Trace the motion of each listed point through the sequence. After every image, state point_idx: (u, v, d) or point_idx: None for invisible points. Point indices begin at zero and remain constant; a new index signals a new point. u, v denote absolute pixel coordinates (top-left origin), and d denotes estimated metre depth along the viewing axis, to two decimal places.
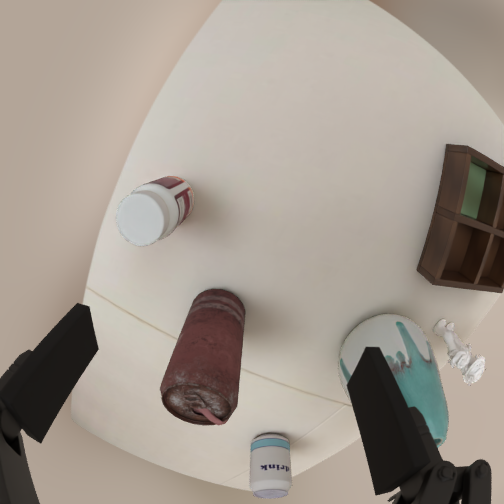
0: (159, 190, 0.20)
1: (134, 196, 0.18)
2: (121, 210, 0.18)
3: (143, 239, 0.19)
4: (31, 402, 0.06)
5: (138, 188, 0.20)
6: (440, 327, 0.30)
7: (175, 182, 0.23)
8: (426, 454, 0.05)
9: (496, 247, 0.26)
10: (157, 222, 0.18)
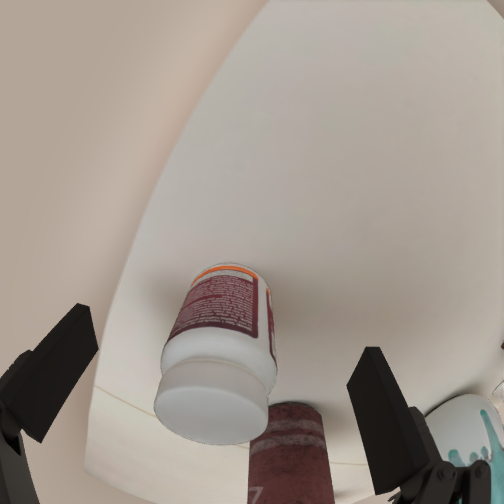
0: (243, 350, 0.09)
1: (198, 392, 0.07)
2: (166, 404, 0.08)
3: (220, 440, 0.08)
4: (31, 401, 0.06)
5: (190, 340, 0.09)
6: (501, 391, 0.20)
7: (251, 294, 0.12)
8: (426, 454, 0.05)
9: None
10: (252, 426, 0.08)
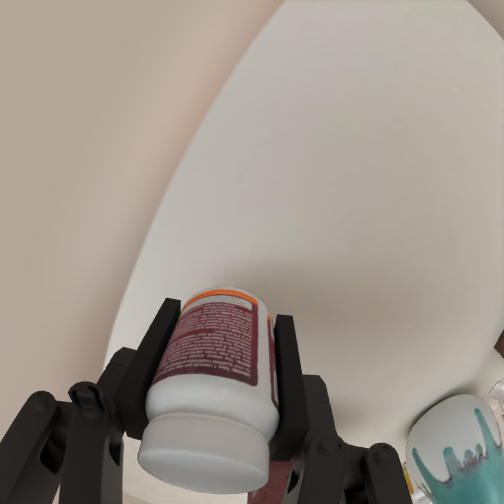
0: (240, 402, 0.07)
1: (185, 455, 0.05)
2: (150, 461, 0.06)
3: (214, 491, 0.06)
4: (145, 398, 0.08)
5: (176, 389, 0.07)
6: (497, 391, 0.21)
7: (250, 327, 0.10)
8: (306, 419, 0.07)
9: None
10: (251, 483, 0.06)
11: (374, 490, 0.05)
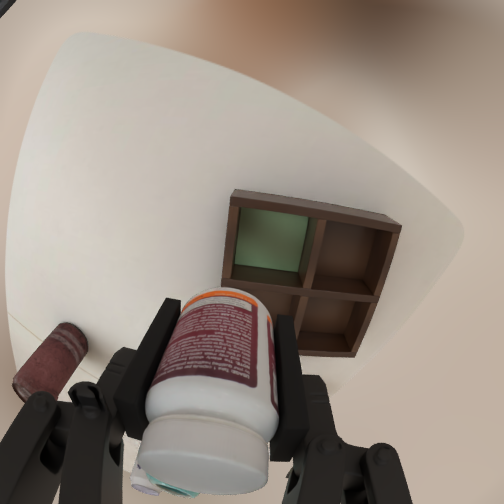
0: (239, 403, 0.07)
1: (184, 457, 0.05)
2: (150, 462, 0.06)
3: (214, 491, 0.06)
4: (145, 398, 0.08)
5: (176, 391, 0.07)
6: None
7: (249, 328, 0.10)
8: (306, 419, 0.07)
9: (351, 300, 0.29)
10: (250, 484, 0.06)
11: (374, 490, 0.05)
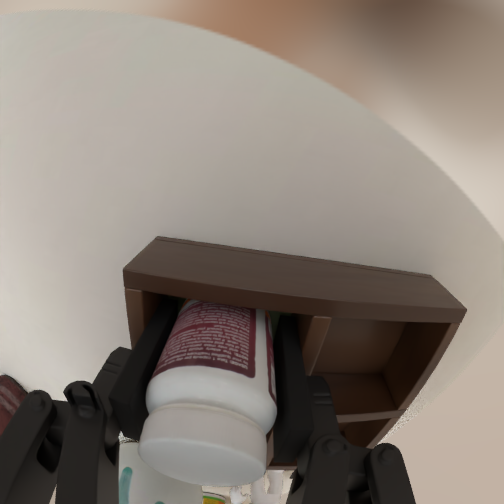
0: (237, 393, 0.07)
1: (184, 444, 0.06)
2: (150, 451, 0.06)
3: (213, 483, 0.07)
4: (140, 398, 0.08)
5: (176, 381, 0.07)
6: None
7: (248, 321, 0.11)
8: (311, 420, 0.07)
9: None
10: (249, 474, 0.06)
11: (378, 490, 0.05)
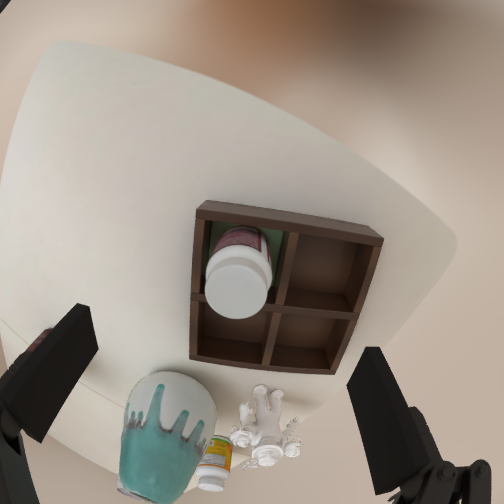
0: (254, 255, 0.18)
1: (232, 268, 0.17)
2: (213, 282, 0.17)
3: (240, 313, 0.18)
4: (31, 402, 0.06)
5: (226, 251, 0.18)
6: (256, 394, 0.32)
7: (257, 237, 0.22)
8: (426, 454, 0.05)
9: None
10: (259, 296, 0.17)
11: (470, 497, 0.03)
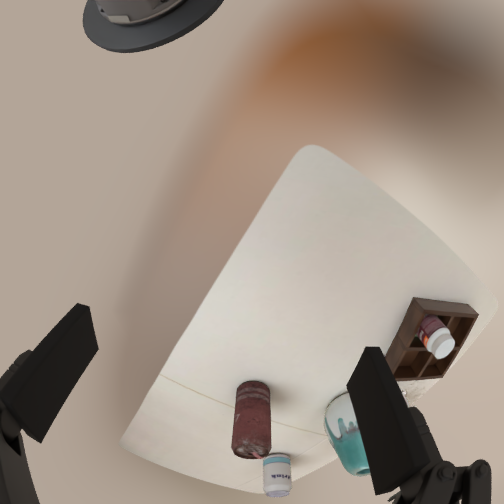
0: (448, 331, 0.33)
1: (448, 340, 0.31)
2: (441, 346, 0.31)
3: (442, 356, 0.32)
4: (31, 401, 0.06)
5: (440, 331, 0.33)
6: None
7: (439, 319, 0.36)
8: (426, 454, 0.05)
9: None
10: (451, 348, 0.32)
11: (470, 497, 0.03)
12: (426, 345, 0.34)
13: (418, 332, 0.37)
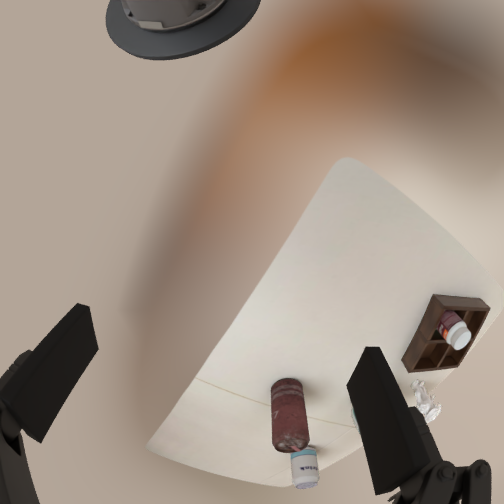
0: (465, 325, 0.34)
1: (466, 332, 0.33)
2: (459, 338, 0.33)
3: (460, 347, 0.34)
4: (31, 402, 0.06)
5: (458, 325, 0.35)
6: (415, 385, 0.48)
7: None
8: (426, 454, 0.05)
9: None
10: (468, 340, 0.33)
11: (470, 497, 0.03)
12: (446, 338, 0.36)
13: (438, 326, 0.39)
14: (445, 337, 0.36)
